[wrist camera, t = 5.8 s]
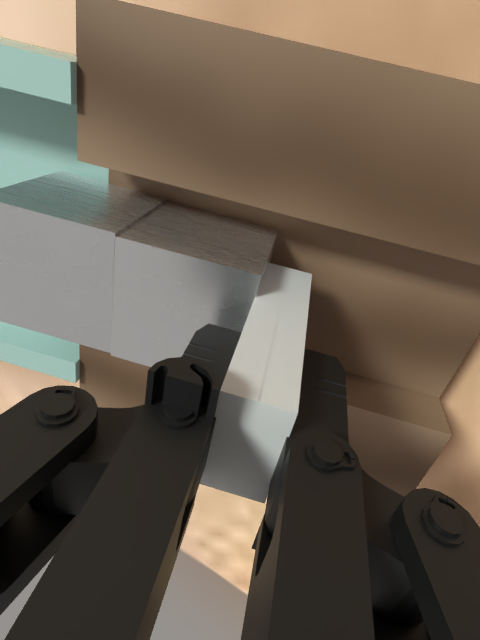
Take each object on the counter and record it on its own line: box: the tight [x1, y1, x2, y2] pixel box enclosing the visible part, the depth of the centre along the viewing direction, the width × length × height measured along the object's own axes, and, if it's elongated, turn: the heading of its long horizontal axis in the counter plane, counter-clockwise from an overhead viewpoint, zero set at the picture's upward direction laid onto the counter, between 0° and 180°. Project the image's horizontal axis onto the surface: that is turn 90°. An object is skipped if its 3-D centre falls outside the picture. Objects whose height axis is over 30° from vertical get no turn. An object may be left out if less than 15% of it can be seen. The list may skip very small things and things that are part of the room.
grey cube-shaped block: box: [0, 171, 168, 353], centre depth 13 cm, size 4×4×4 cm
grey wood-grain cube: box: [111, 201, 278, 367], centre depth 13 cm, size 4×4×4 cm
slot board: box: [76, 0, 480, 497], centre depth 14 cm, size 14×14×3 cm
